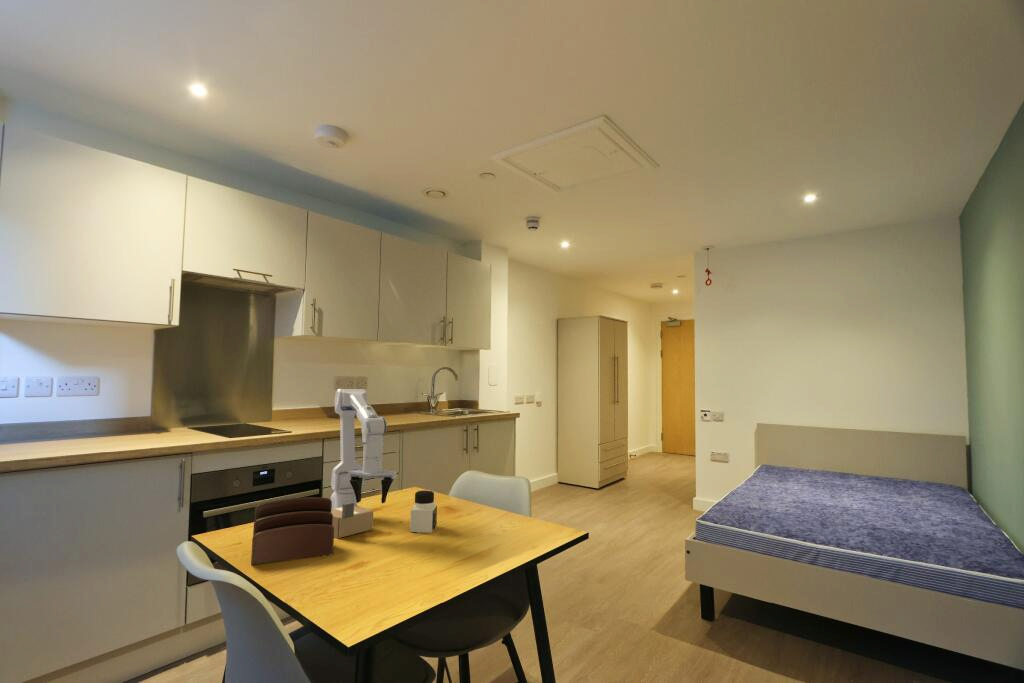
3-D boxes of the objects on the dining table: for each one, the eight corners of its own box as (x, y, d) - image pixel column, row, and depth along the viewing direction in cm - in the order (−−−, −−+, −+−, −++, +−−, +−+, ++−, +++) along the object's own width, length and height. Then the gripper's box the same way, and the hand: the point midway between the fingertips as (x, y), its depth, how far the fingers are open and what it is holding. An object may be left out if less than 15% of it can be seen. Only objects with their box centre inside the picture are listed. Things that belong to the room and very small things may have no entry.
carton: (319, 531, 152) (320, 511, 153) (354, 523, 161) (354, 504, 162) (337, 538, 146) (338, 517, 146) (371, 529, 155) (372, 509, 156)
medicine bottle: (432, 533, 152) (433, 493, 153) (409, 532, 152) (411, 493, 153) (436, 526, 159) (437, 489, 160) (414, 526, 160) (415, 488, 161)
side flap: (338, 537, 146) (340, 504, 147) (371, 529, 155) (373, 497, 156) (341, 538, 145) (342, 505, 146) (374, 530, 154) (375, 498, 155)
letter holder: (252, 553, 133) (255, 500, 134) (329, 544, 141) (332, 494, 143) (250, 566, 124) (253, 509, 125) (333, 555, 132) (335, 502, 134)
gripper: (344, 458, 147) (342, 504, 146) (392, 459, 146) (391, 506, 145) (352, 455, 154) (351, 499, 153) (398, 455, 153) (397, 500, 152)
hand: (371, 502), depth 150 cm, fingers open, 7 cm apart
